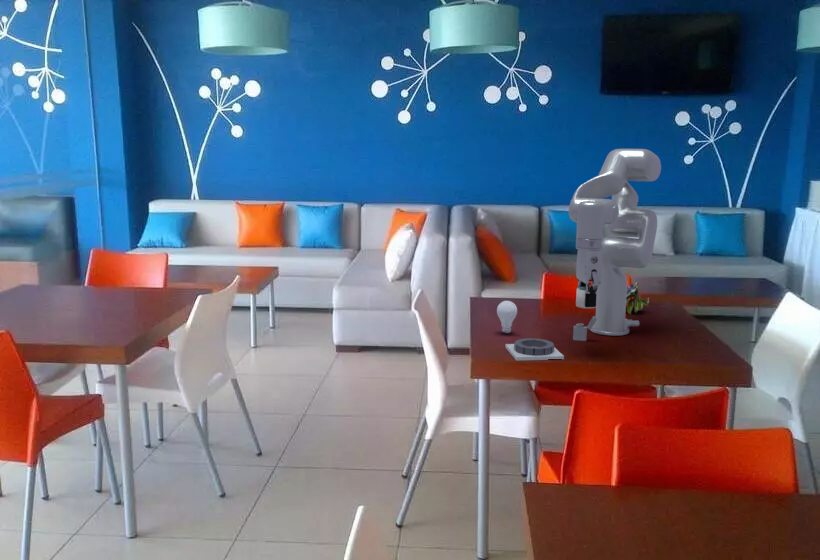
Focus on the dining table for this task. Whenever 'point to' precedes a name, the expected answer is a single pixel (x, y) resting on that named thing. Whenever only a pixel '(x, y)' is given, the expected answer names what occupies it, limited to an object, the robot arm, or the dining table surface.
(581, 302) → the knob
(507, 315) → the light bulb
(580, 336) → the lighter
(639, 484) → the dining table surface
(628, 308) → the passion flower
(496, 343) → the dining table surface
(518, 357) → the segmented ring plate
